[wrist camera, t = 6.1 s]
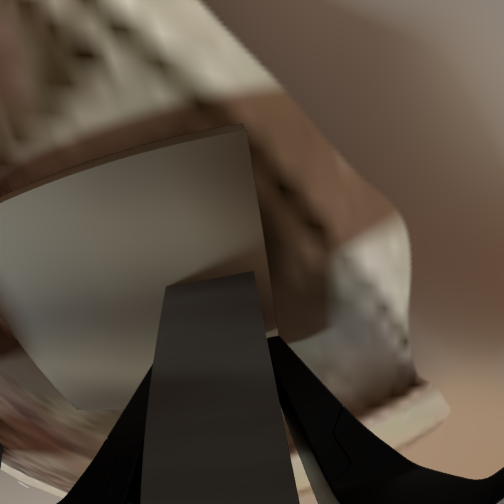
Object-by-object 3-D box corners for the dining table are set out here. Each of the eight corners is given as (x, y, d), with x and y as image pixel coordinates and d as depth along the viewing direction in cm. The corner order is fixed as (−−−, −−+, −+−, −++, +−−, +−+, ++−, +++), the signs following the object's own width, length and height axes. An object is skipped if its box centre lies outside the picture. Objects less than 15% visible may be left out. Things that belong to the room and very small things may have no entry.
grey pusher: (281, 368, 15) (319, 543, 7) (81, 389, 15) (55, 531, 7) (242, 123, 9) (405, 435, 1) (-29, 210, 9) (-159, 365, 1)
